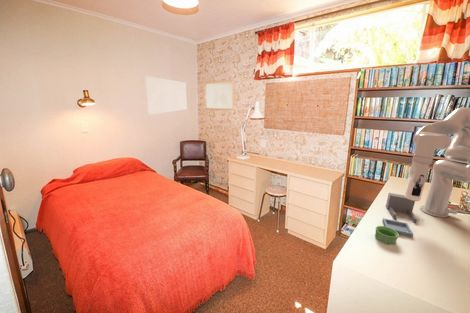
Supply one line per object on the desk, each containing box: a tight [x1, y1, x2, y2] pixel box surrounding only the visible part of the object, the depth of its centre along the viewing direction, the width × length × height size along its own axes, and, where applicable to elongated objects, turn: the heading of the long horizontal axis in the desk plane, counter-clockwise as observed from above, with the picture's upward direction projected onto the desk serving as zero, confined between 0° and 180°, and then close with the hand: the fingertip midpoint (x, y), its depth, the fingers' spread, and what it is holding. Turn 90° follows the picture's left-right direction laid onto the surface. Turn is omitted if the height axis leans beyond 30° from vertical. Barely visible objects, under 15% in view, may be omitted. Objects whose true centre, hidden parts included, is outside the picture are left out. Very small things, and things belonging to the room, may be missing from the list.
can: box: [404, 177, 426, 202], centre depth 113 cm, size 6×6×12 cm
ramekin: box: [374, 225, 400, 245], centre depth 103 cm, size 9×9×4 cm
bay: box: [385, 192, 418, 224], centre depth 127 cm, size 12×16×9 cm
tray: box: [382, 217, 414, 239], centre depth 112 cm, size 11×11×2 cm
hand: (413, 192), depth 114 cm, fingers closed on can, 6 cm apart
